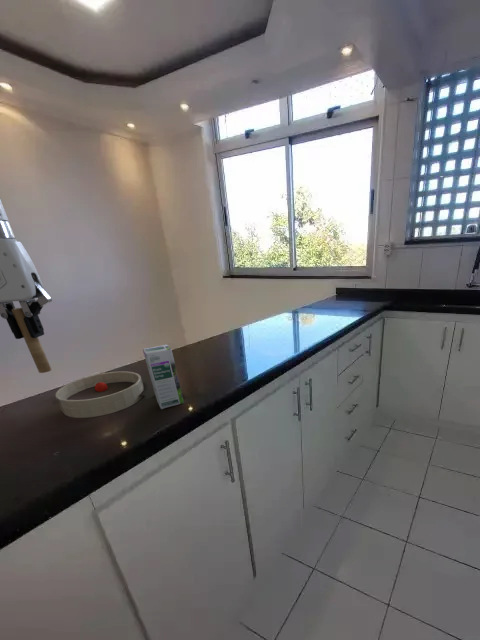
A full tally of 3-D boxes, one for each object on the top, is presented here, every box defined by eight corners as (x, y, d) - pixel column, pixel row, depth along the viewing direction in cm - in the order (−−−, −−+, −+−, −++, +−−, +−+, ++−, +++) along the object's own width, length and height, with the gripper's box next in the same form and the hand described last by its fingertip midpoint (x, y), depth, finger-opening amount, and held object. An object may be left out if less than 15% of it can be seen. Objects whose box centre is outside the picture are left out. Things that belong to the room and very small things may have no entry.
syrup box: (160, 410, 76) (145, 353, 69) (156, 401, 80) (141, 347, 74) (184, 403, 79) (171, 348, 72) (179, 395, 83) (166, 343, 77)
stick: (36, 373, 65) (8, 309, 59) (43, 369, 67) (16, 307, 61) (47, 372, 65) (20, 309, 59) (53, 368, 67) (28, 307, 61)
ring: (45, 421, 73) (37, 404, 71) (85, 388, 90) (80, 374, 88) (129, 414, 75) (124, 397, 73) (154, 383, 92) (150, 369, 90)
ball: (93, 394, 83) (93, 388, 85) (106, 396, 85) (105, 390, 87) (97, 384, 82) (95, 379, 84) (109, 386, 84) (108, 381, 86)
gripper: (-85, 234, 50) (-28, 344, 58) (20, 230, 52) (62, 338, 60) (-45, 236, 57) (1, 334, 65) (48, 232, 58) (82, 329, 67)
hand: (30, 336), depth 62 cm, fingers closed on stick, 2 cm apart
